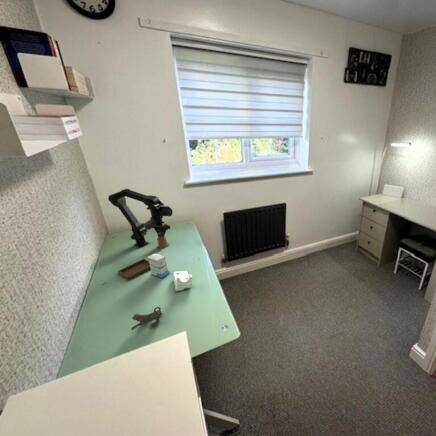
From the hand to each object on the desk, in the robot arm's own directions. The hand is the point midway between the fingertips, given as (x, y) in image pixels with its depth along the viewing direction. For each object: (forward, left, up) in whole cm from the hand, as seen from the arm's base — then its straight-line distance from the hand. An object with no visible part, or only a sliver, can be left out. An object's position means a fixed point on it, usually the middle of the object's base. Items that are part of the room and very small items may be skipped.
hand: (161, 236), depth 163 cm
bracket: (+46, -18, -8) cm, 50 cm away
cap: (0, 0, +2) cm, 2 cm away
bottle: (0, 0, -8) cm, 8 cm away
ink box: (+28, -20, -8) cm, 35 cm away
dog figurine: (+57, -44, -8) cm, 72 cm away
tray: (+13, -25, -8) cm, 29 cm away
